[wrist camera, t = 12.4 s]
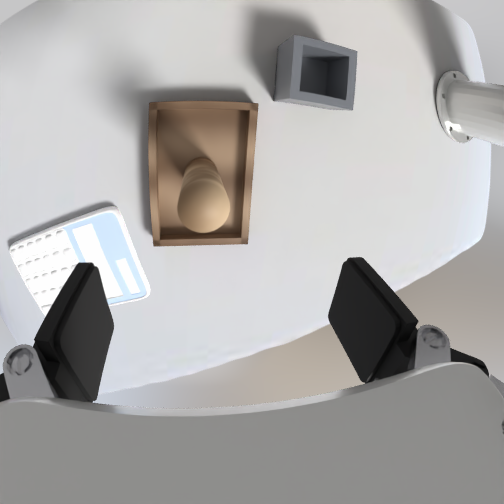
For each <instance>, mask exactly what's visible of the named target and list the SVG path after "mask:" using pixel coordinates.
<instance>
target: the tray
mask: <svg viewBox="0 0 504 504" xmlns="http://www.w3.org/2000/svg"><path fill="white" fill-rule="evenodd" d="M257 115H258V103H245V102H226V101H170V102H151V103H149V131H148V158H149V191H150V208H151V222H152V234H153V245H154V246H188V245H229V244H248V234H249V220H250V207H251V193H252V180H253V167H254V154H255V141H256V128H257ZM199 157H204V158H208V159H210V160H211V161H213V162H214V164H215V165H216V167H217V170H218V172H219V175H220V178H221V180H222V183H223V185H224V188H225V191H226V193H227V196H228V198H229V202H230V212H229V216H228V218H227V220H226V221H225V223H224V224H223V225H222V226H221V227H219V228H218V229H216V230H214V231H211V232H207V233H199V232H195V231H192V230H190V229H188V228H187V227H186V226H185V225H184V224H183V223H182V222H181V220H180V219H179V216H178V212H177V205H178V199H179V195H180V190H181V186H182V181H183V177H184V172H185V169H186V166H187V165H188V163H189V162H190V161H192V160H193V159H195V158H199Z"/></svg>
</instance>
